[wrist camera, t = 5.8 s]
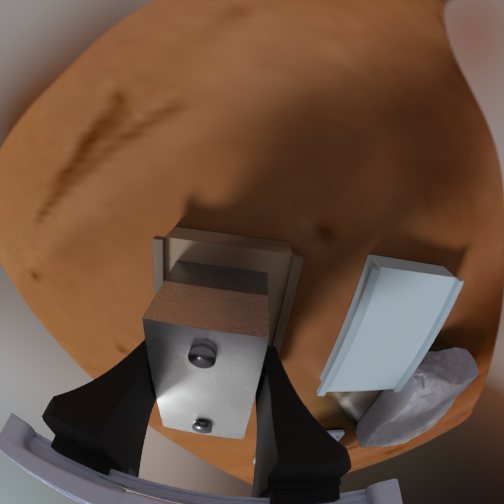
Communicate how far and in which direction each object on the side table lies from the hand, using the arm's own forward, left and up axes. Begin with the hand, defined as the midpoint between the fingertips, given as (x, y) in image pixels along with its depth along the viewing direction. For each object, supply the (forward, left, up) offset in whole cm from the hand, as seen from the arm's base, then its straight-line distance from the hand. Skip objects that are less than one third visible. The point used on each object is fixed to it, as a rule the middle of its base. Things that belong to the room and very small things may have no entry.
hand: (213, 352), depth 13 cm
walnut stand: (0, 0, -3) cm, 4 cm away
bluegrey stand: (0, -11, -3) cm, 11 cm away
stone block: (-8, -19, -4) cm, 21 cm away
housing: (0, 0, -2) cm, 2 cm away
